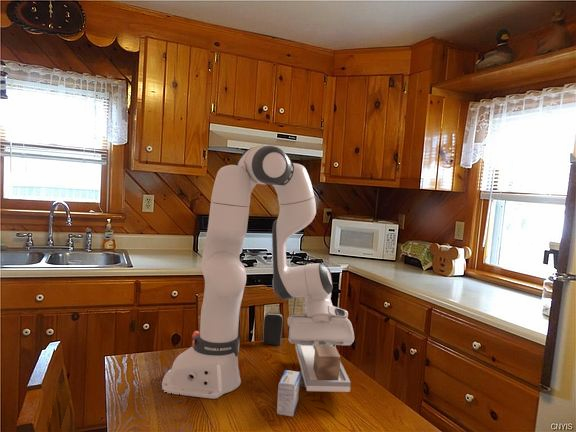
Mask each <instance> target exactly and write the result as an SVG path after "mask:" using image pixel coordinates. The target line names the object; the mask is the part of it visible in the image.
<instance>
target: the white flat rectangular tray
mask: <svg viewBox="0 0 576 432" xmlns="http://www.w3.org/2000/svg"><path fill="white" fill-rule="evenodd" d="M294 346H295V352H296V355H297V360H298V362H299V367H300V371H302V375H303V379H304V383H305V386H306V387H305V389H306V392H331V393H332V392H336V393H337V392H339V393H340V392H341V393H342V392H343V393H345V392H346V393H347V392H348V393H349V392H351V386H352V385H351V383H352V381H351V380H350V378H349V375H348V374H347V372H346V370H345V368H344V365H343V364H342V361H341V360H340V368H339V380H317V378H316V375H315V372H314V369H313V367H314V354H315V350H314V348H313V344H295V345H294ZM318 346H325V345H320V344H319V345H318ZM331 346H334V345H331Z"/></svg>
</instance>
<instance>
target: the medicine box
mask: <svg viewBox="0 0 576 432" xmlns="http://www.w3.org/2000/svg"><path fill="white" fill-rule="evenodd" d="M279 380H280V381H279V382H278V388H277V404H276V414H277V415H281V416H287V417H294V414H295V412H296V408H297V405H298V404H299V403H298V402H299V393H300V372H298V371H295V370H290V369H289V370H288V369H285V370H284V372H283V374H282V376H281V378H280V379H279Z"/></svg>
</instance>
